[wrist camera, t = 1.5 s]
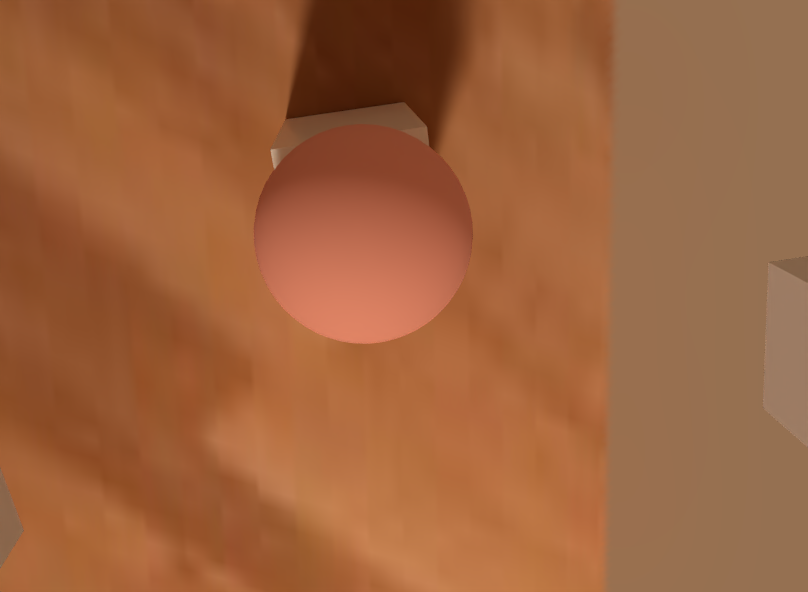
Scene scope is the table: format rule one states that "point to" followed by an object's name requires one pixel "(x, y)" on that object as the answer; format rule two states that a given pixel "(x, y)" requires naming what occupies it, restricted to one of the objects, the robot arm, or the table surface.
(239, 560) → the table surface
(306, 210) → the ball
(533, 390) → the table surface
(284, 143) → the hollow square tube
